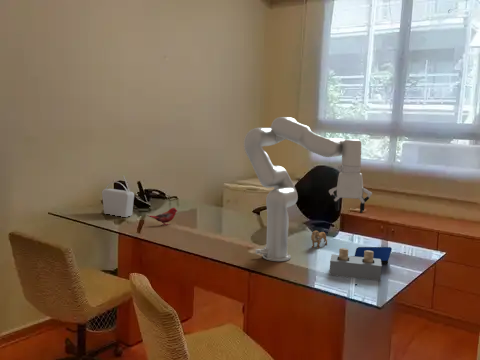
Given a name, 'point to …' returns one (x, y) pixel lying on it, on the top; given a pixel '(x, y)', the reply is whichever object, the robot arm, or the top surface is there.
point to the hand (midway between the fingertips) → (349, 211)
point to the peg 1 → (343, 254)
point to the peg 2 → (368, 256)
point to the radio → (118, 201)
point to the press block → (355, 268)
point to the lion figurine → (318, 238)
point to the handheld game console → (375, 253)
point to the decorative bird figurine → (165, 216)
